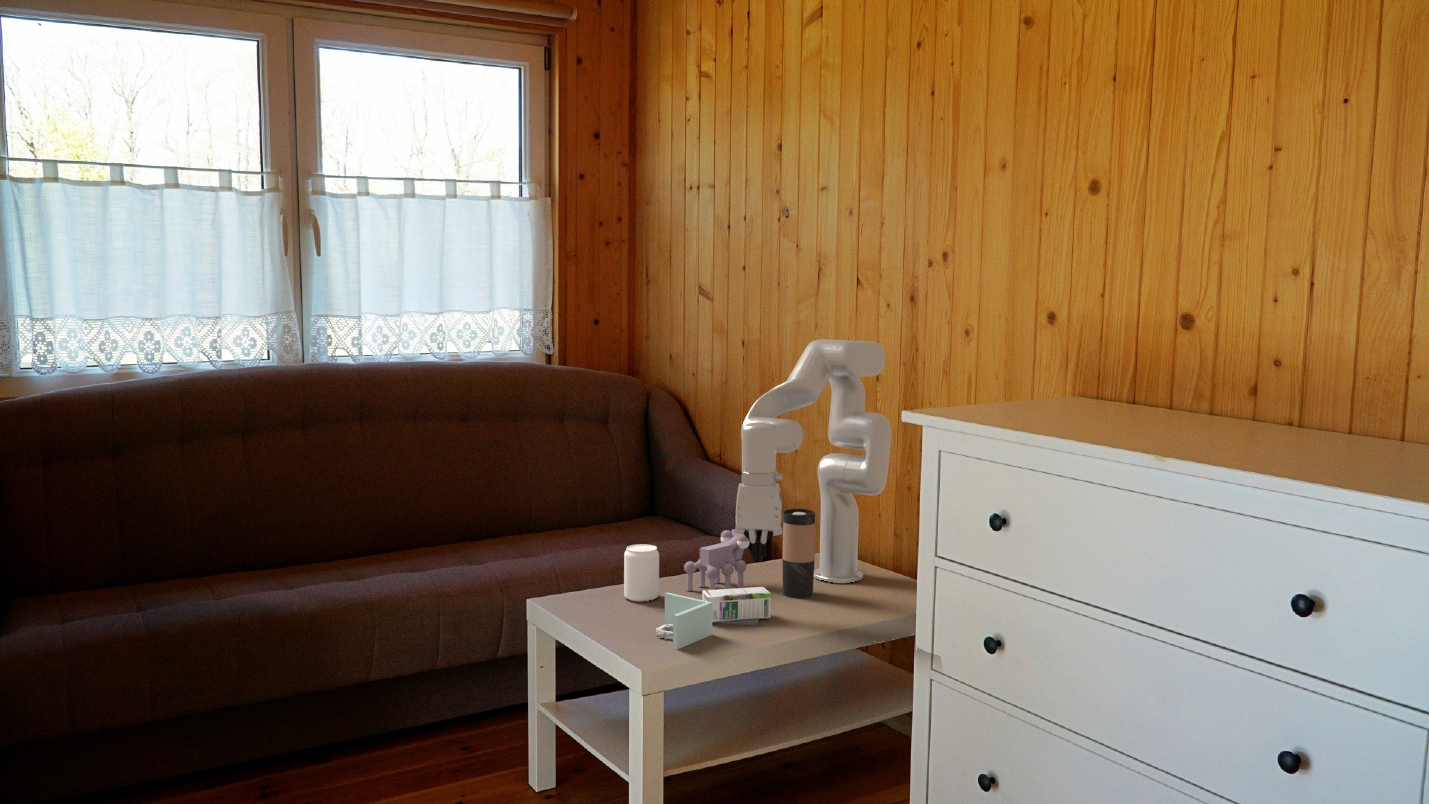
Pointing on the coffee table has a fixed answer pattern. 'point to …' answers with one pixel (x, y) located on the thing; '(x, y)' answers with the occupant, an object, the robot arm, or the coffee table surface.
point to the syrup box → (739, 603)
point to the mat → (739, 621)
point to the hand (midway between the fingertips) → (758, 559)
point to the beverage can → (641, 572)
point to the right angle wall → (685, 620)
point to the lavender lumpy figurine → (720, 561)
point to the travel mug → (798, 552)
